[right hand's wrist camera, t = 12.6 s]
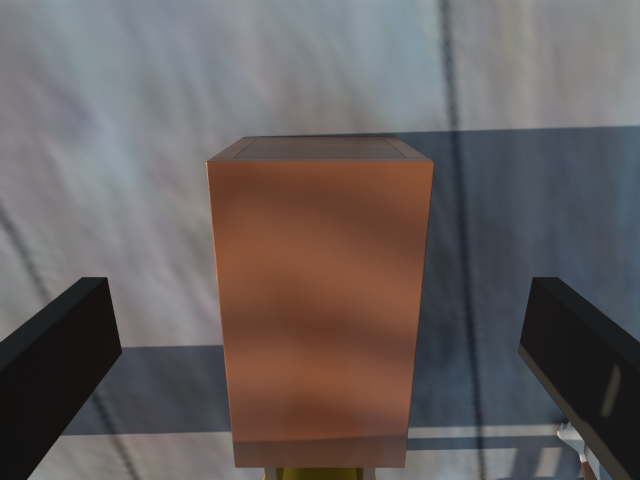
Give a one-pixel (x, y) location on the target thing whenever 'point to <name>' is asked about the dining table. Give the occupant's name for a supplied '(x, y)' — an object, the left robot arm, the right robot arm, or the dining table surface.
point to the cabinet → (320, 295)
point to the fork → (576, 448)
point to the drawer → (319, 474)
